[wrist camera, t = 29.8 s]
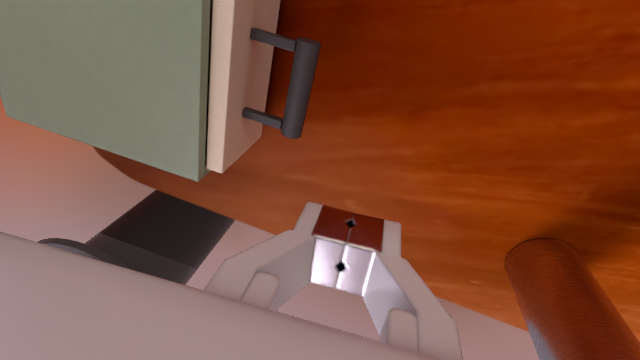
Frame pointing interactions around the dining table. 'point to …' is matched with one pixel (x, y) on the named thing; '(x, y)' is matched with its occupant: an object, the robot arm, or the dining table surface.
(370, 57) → the dining table surface
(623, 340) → the can
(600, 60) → the dining table surface
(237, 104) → the drawer
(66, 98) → the cabinet
